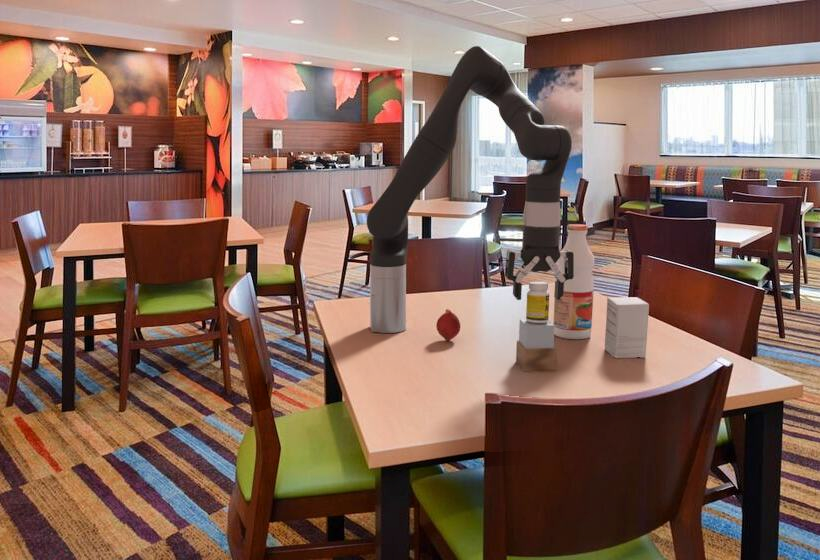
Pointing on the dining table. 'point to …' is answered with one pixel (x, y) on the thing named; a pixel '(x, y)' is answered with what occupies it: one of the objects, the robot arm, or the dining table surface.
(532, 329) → the top block
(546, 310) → the supplement bottle
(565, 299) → the fruit juice
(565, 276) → the robot arm
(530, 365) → the bottom block
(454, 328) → the onion
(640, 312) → the supplement box
